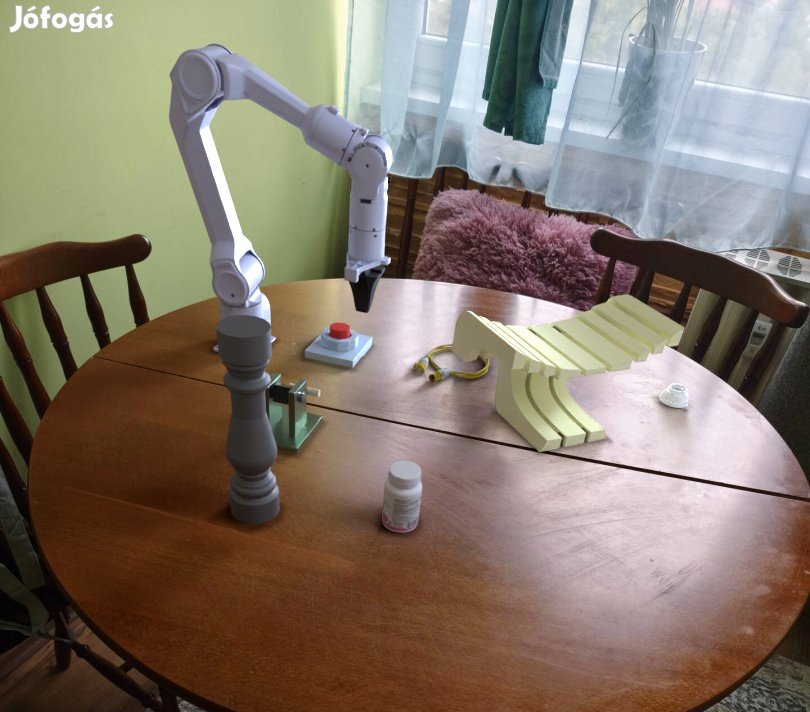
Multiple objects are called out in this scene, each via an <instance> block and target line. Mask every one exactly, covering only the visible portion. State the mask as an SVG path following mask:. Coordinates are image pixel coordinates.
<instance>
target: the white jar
mask: <svg viewBox="0 0 810 712" xmlns="http://www.w3.org/2000/svg"><path fill="white" fill-rule="evenodd" d="M661 396H662V397H663V398H664V399H665V400H664V399H663V398H662V397H661ZM658 399H659V400H660V402H662V404H664V405H666V406H668V407H670V408H674V409H677V408H678V409H682V408H686V407H688V406H689V402H690V400H689V401H688V399H689V393H688V388H687V387H686V386H685V385H682V384H680V383H671V384H670V385H669V386H667V387H666V388H665V389H664V390H663V391H662V392H660V394H659V396H658ZM666 400H667V401H666ZM668 401H669V402H668ZM670 402H672V403H670ZM687 402H688V403H687ZM673 403H675V404H673ZM676 403H677V404H676ZM684 403H687V404H684ZM678 404H683V405H678Z"/></svg>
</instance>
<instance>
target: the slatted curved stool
mask: <svg viewBox="0 0 810 712" xmlns="http://www.w3.org/2000/svg"><path fill="white" fill-rule="evenodd" d="M685 329H686V327H684V326H683V325H681V324H679V323H678V322H676V321H674V320H673V319H671V318H670V317H668V316H666V315H664V314H663V313H661V312H660V311H657V310H656V309H654V308H653V307H651V306H649V305H647V304H646V303H644V302H642V301H641V300H639V299H638V298H636V297H634V296H633V295H630V294H619V295H615V296H611V297H610V298H608V299H607V301H606V302H602V303H599V304H595V305H593V306H592V307H591V309H590V310H586V311H582V312H579V313H577V314H576V315H575V317H570V318H567V319H562V320H558V321H553V322H551V324H549V323H542V324H541V323H540V324H533V325H527V327H525V326H524V325H509V324H508V325H507V324H506V325H504V324H503V323H502V322H499V321H491V320H489V319H488V318H486V317H484V316H481V315H479V316H478V315H477V314H476V313H474V312H473V311H471V310H465V311H462V312H461V313H459V315H458V317H457V319H456V322H455V325H454V333H453V338H452V344H453V345H452V346H451V347H452V351H451V352H452V353H454V354H455V355H456V356H457V357H458V358H459V359H460V360H461V361H462V362H463V363H465V364H467V363H470V362H472V361H475V360H477V359H478V358H479V357H478V355H479V356H481V357H482V358H483V359H484V360H486V359H485V358H489V359H493V358H495V359H496V364H497V365H496V366H497V378H496V386H495V393H494V406H495V410H496V412H497V413H498V414H499V415H500V416H501V417H502V418H503V419H504V420H505V421H506V422H507V423H508V424H509V425H510V426H511V427H513V428H514V429H515V430H516V431H517V432H518V433H519V434H520V435H521V436H522V437H523V439H525V440H526V441H527V442H528V443H529V444H530V445H531V446H532V447H533V448H534V449H536V450H537V451H538V453H543V452H547V451H553V450H557V449H560V447H561V446H562V447H563V448H567V447H571V446H576V445H581V444H584V443H585V441H586V442H587V443H591V442H597V441H602V440H606V439H607V436H606V435H607V434H606V429H605V428H604V427H603V426H602V425H600V424H599V422H597V421H596V420H595V419H593V418H592V417H591V416H590V415H589V414H588V413H587V412H586V411H585V410H584V409H583V408H582V407H581V406H580V405H579V404H578V403H577V402H576V401H575V400H574V398H573V397H572V395H571V393H570V391H569V389H568V387H567V380H570V379H576V378H580V376H581V375H582V376H583V377H589V376H594V375H595V376H596V375H601V374H605V373H606V371H607V372H609V373H614V372H622V371H628V370H630V369H631V366H632V363H633V362H634V363H643V362H647V360H648V356H649V354H651V355H652V356H653V355H661V354H663V352H664V350H665V348H666V346H667V347H668V348H670V347H678V346H679V345H680V342H681V339H682V337H683V334H684V332H685Z"/></svg>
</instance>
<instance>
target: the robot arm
mask: <svg viewBox="0 0 810 712" xmlns="http://www.w3.org/2000/svg"><path fill="white" fill-rule="evenodd" d="M168 75H169V79H170V82H171V91H170V102H169V113H168V122H169V125H170V128H171V131H172V134H173V137H174V140H175V142H176V145H177V148H178V151H179V154H180V157H181V160H182V163H183V166H184V168H185V172H186V175H187V177H188V180H189V183H190V185H191V189H192V192H193V195H194V197H195V201H196V203H197V204H196V205H197V208H198V209H199V212H200V215H201V218H202V221H203V224H204V227H205V230H206V233H207V236H208V238H209V242H210V246H211V247H210V255H209V265H210V269H211V273H212V276H211V277H212V278H211V287H212V290H213V293H214V294H215V296H216V297H217V298H218V305H219V307H218V308H219V317H220V318H219V320H221V319H223V318H226V317H230V316H235V315H250V316H256V317H259V318H262V319H265V320H266V321H267V322H269V323H270V326H272V323H271V321H272V319H271V304H270V302H269V301H270V300H268V297H267V296H266V295H265V294H264V293H263V292H261V290H260V285H261V284H262V282H263V281H264V279H265V277H266V276H265V275H266V269H265V265H264V263H263V261H262V260H261V258H260V257H259V256H258V255H257V254H256V252H255V250H254V247H253V244H252V242H251V241H250V240H249V239H248V238H247V237H246V236H245V234H243V231H242V227H241V224H240V221H239V217H238V214H237V212H236V208H235V205H234V202H233V199H232V196H231V193H230V188H229V186H228V182H227V179H226V177H225V174H224V170H223V167H222V164H221V161H220V157H219V154H218V151H217V148H216V145H215V141H214V138H213V135H212V132H211V129H210V124H211V123H212V120H213V119H214V116H215V115H216V113H217V111H218V109H219V107H220V105H221V104H222V103H223V102H224V101H239V100H240V101H241V100H249V101H252V102H253V103H255V104H256V105H258V106H260V107H262V108H264V109H265V110H267V111H269V112H270V113H272V114H274V115H276V116H277V117H279V118H281V119H282V120H284V121H286V122H287V123H289V124H291V125H292V126H294V127H296V128H297V129H299V130H300V132H301V135H302V136H303V141H304V143H305V145H307V146H309V147H310V148H312V150H315V151H316V152H318V153H319V154H321V155H322V156H324V157H326V158H327V159H329V160H330V161H332V162H333V163H335V164H336V165H338V166H340V167H341V168H343V169H347V172H348V175H349V177H350V179H351V186H350V188H351V189H350V193H349V214H348V215H349V216H348V238H347V239H348V240H347V243H348V244H347V252H346V265H345V267H344V274H343V275H344V277H343V278H344V279H343V280H344V281H347V282H348V283H349V287H350V288H351V294H352V297H353V298H352V299H353V303H354V309H355V311H356V312H359V313H364V314H368V313H369V312H370V311H371V308H372V305H373V301H374V297H375V293H376V290H377V287H378V284H379V282H380V280H381V278H382V277H383V274H384V273H385V271H386V267H385V266H388V265H389V264H391V257H389V256H386V255H385V247H386V243H385V242H386V241H385V240H386V227H387V214H388V200H389V199H388V198H389V197H388V189H389V183H388V181H389V176H387V175H388V173H389V171H390V169H391V167H392V164H393V151H392V148H391V146H390V144H389V143H388V142H387V141H386V140H385V139H384V138H383V137H382V135H380V134H377V133H370V134H369V129H368V128H366V127H365V126H362V127H360V126H357V125H356V124H354V123H353V122H352V121H350V120H348V119H347V118H346V117H344V116H342V115H341V114H340V111H341V109H340V108H339V107H338V106H336V105H334V104H331V105H330V106H327V105H326V104H325V103H321V104H318V105H315V106H311V105H309V104H308V103H307V102H305V101H304V100H303V99H301V98H300V97H298V96H297V95H296V94H294V92H292V91H290V90H289V89H287V88H286V87H285V86H283V85H282V83H279V82H278V81H277V80H275V79H274V78H272V76H270V75H268V74H267V73H266V72H265V71H263V70H261V68H259V67H258V66H256V65H255V64H254V63H252V62H251V61H250V60H249V59H247V58H246V57H244V56H243V55H241V54H238V53H236V52H234V53H233V52H232V51H231V50H230V49H229V48H228V47H226V46H225V45H223V44H221V43H209V44H208V45H205V46H203V47H198V48H189V49H187V50H185V51H183V52H181V54H180V55H179V56H178V58H177V59H176V61H175V64H173V66H172V68H171V70H170V72H169V74H168ZM276 339H277V337H276V336H274V335H271V344H272V343H273V342H274V341H276ZM212 349H213V352H215V353H219V351H218V344H216V345H215V346H214V347H213V348H212Z"/></svg>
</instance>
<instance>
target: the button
mask: <svg viewBox="0 0 810 712" xmlns="http://www.w3.org/2000/svg"><path fill="white" fill-rule="evenodd" d="M329 327H330V337H332V338H335V339H347V338H349V337H350V328H351V326H350V325H349V324H348V323H345V322H333V323H331V324H330V325H329Z"/></svg>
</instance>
